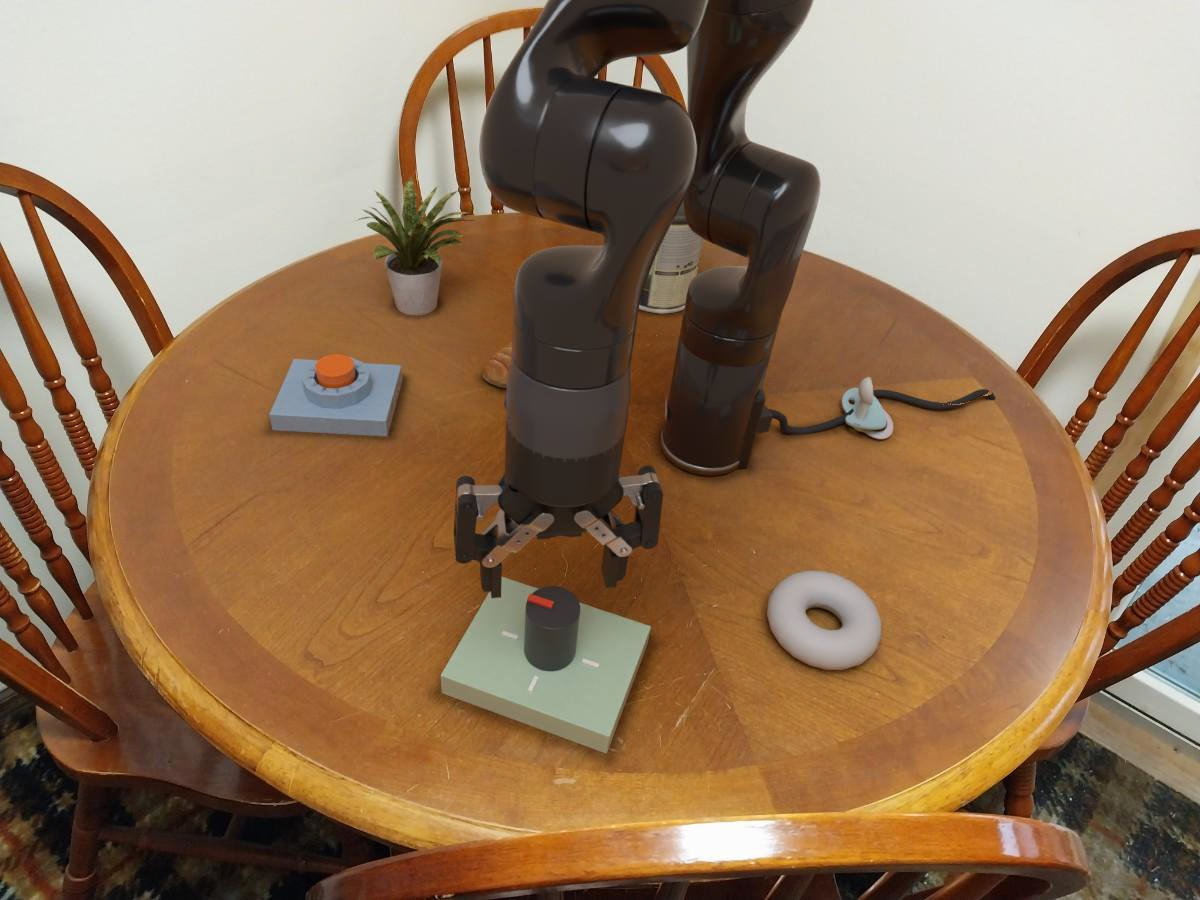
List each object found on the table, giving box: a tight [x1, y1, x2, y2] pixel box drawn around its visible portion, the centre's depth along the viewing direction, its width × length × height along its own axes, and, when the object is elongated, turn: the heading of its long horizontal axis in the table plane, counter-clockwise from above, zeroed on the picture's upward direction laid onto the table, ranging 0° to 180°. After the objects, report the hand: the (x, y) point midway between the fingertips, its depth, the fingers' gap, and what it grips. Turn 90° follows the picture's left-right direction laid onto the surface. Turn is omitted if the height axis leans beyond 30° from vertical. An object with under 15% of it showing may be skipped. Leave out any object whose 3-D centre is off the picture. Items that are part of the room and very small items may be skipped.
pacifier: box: [841, 376, 894, 440], centre depth 97 cm, size 7×6×6 cm
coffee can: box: [639, 202, 704, 315], centre depth 112 cm, size 10×10×14 cm
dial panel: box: [440, 576, 652, 755], centre depth 69 cm, size 14×11×3 cm
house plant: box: [355, 175, 476, 316], centre depth 103 cm, size 14×14×16 cm
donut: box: [766, 570, 882, 671], centre depth 74 cm, size 10×3×10 cm
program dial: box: [524, 585, 581, 671], centre depth 67 cm, size 4×4×6 cm
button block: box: [268, 356, 404, 437], centre depth 92 cm, size 12×10×4 cm
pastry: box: [482, 341, 512, 389], centre depth 99 cm, size 9×7×4 cm
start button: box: [315, 353, 356, 389], centre depth 90 cm, size 4×4×2 cm
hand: (552, 584), depth 63 cm, fingers open, 8 cm apart
